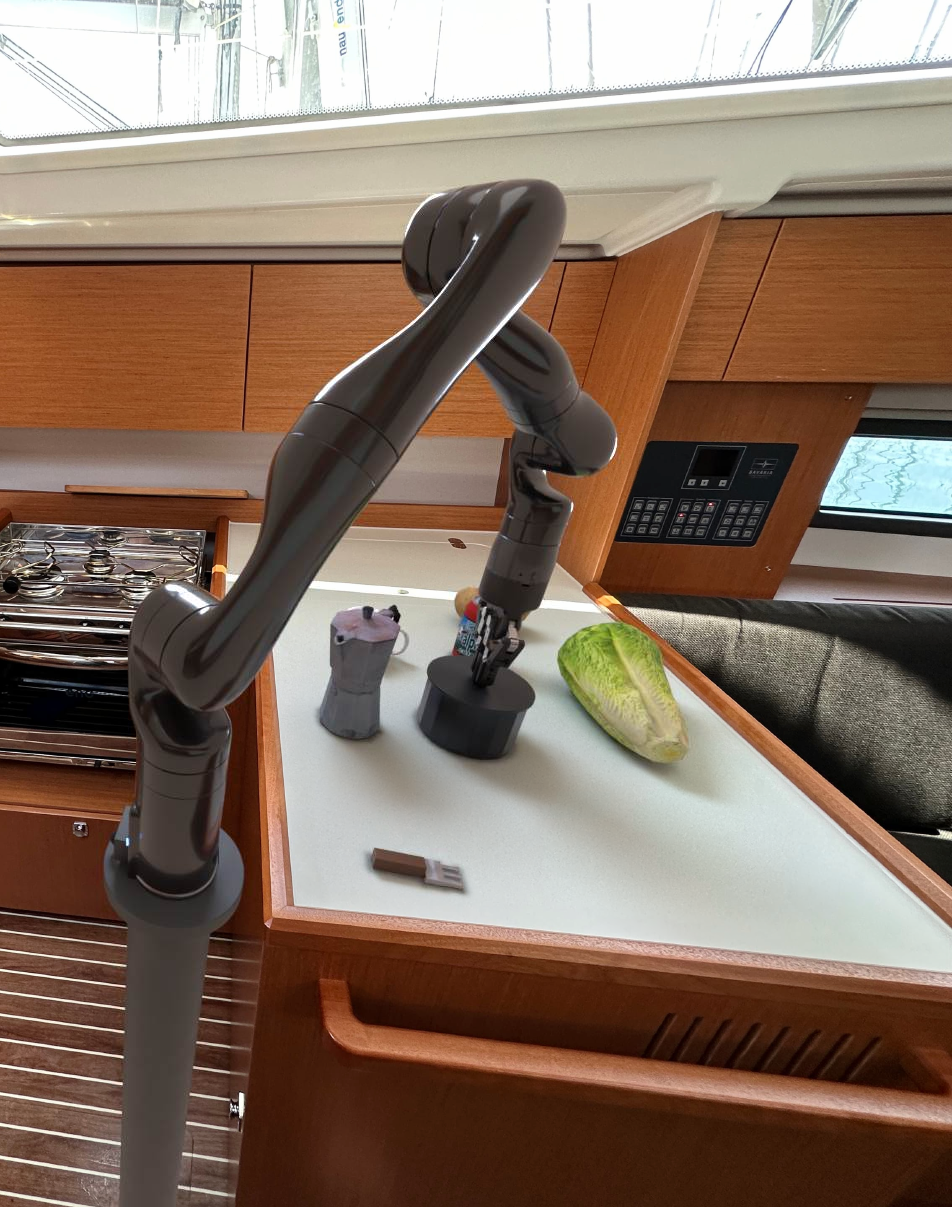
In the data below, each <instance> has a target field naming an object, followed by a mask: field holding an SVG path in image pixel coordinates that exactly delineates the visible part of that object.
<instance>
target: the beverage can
mask: <svg viewBox="0 0 952 1207" xmlns="http://www.w3.org/2000/svg"><path fill="white" fill-rule="evenodd" d="M480 598H481V597H480V596H479V595H478V596H475V597H474V598H473V600H471V601H470V602H469V603H468V604H467V605H466V608H465V611H464V615H463V618H461V621H460V625H459V626H458V627H459V628H458V631H457V634H456V638H455V641H454V643H453V644H454V645H453V648H452V654H451V655H463V656H471V657H474V656H475V653H476V650H477V649H478V648H476V641H477V639H476V638H474V631H475V624H476V617H477V610H478V601H479V599H480ZM492 651H493V650H492Z"/></svg>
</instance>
